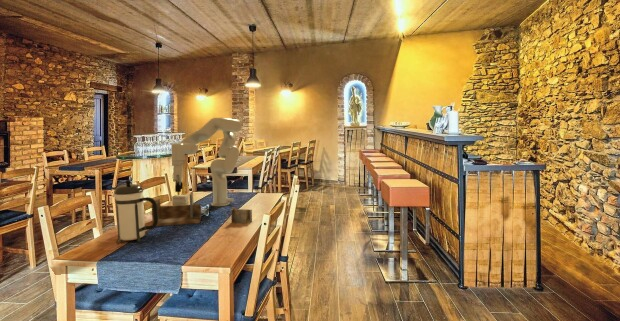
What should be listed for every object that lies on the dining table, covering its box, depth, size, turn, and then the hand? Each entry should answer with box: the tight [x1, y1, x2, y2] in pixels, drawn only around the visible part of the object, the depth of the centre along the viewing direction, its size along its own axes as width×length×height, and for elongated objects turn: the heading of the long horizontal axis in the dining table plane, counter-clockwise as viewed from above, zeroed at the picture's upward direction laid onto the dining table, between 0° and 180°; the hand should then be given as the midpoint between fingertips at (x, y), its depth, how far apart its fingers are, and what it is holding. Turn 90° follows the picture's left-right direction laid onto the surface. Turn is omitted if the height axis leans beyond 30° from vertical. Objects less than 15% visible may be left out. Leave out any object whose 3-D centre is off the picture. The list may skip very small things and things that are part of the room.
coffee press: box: [111, 179, 158, 244], centre depth 175 cm, size 17×16×30 cm
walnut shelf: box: [151, 198, 202, 227], centre depth 208 cm, size 25×16×12 cm, turn 104°
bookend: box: [189, 191, 202, 219], centre depth 210 cm, size 5×9×14 cm, turn 14°
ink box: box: [171, 194, 190, 206], centre depth 223 cm, size 9×5×12 cm, turn 86°
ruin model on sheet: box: [230, 206, 253, 224], centre depth 204 cm, size 11×3×10 cm, turn 83°
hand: (179, 190), depth 222 cm, fingers open, 9 cm apart
